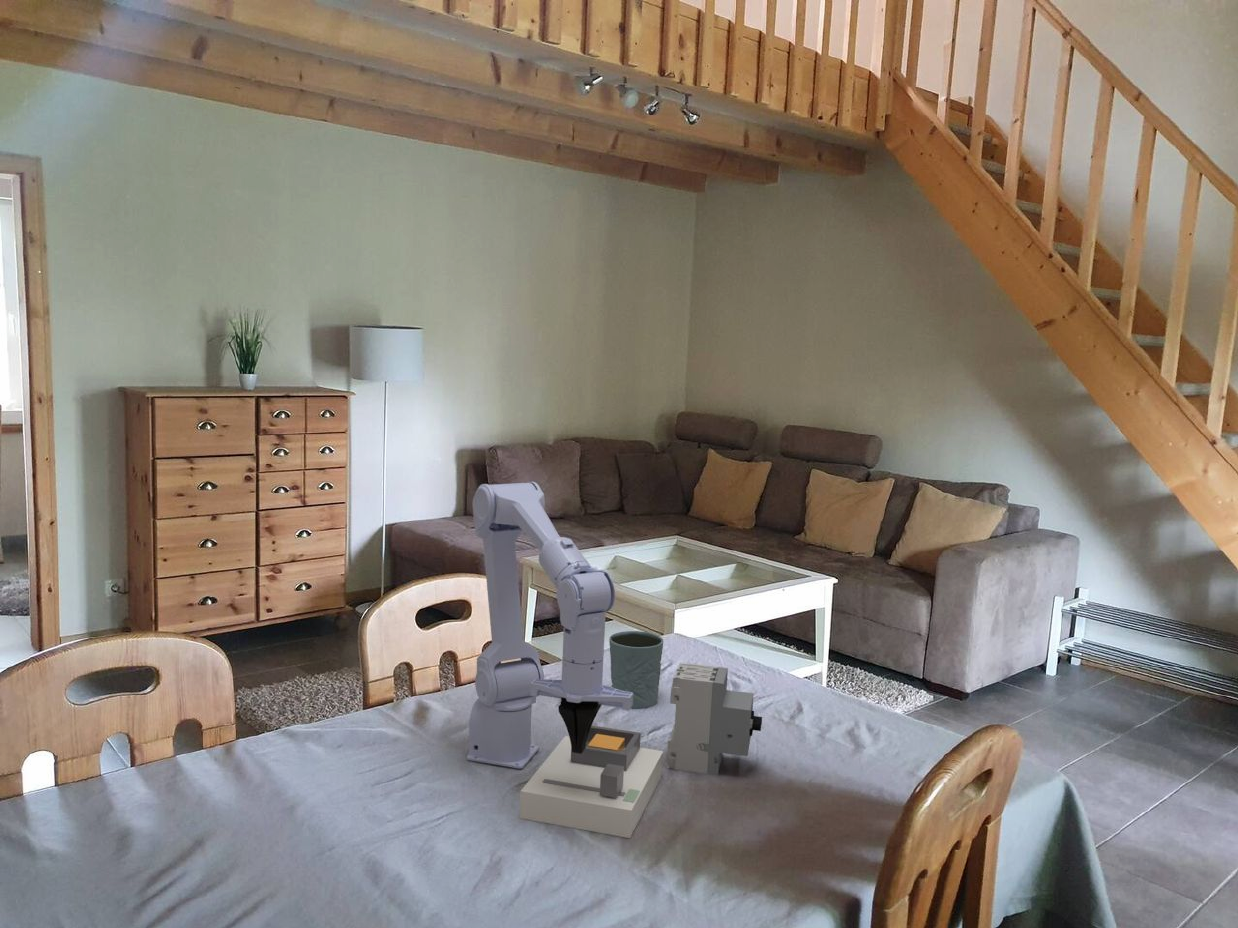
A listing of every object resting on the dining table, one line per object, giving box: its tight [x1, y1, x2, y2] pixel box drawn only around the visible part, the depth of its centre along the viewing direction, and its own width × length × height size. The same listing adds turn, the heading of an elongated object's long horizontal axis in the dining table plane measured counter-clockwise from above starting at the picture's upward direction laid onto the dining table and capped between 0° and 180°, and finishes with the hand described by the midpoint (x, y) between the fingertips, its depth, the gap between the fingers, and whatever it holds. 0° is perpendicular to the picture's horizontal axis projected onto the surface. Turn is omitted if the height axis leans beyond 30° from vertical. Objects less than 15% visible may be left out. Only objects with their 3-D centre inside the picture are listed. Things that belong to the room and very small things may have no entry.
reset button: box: [588, 734, 625, 752], centre depth 146 cm, size 5×5×2 cm
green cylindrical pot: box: [608, 630, 664, 710], centre depth 179 cm, size 10×10×12 cm
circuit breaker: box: [666, 662, 763, 776], centre depth 153 cm, size 8×14×15 cm, turn 78°
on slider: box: [600, 764, 624, 798], centre depth 134 cm, size 2×4×3 cm, turn 165°
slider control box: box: [519, 724, 664, 839], centre depth 141 cm, size 16×20×6 cm
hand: (578, 750), depth 135 cm, fingers closed
